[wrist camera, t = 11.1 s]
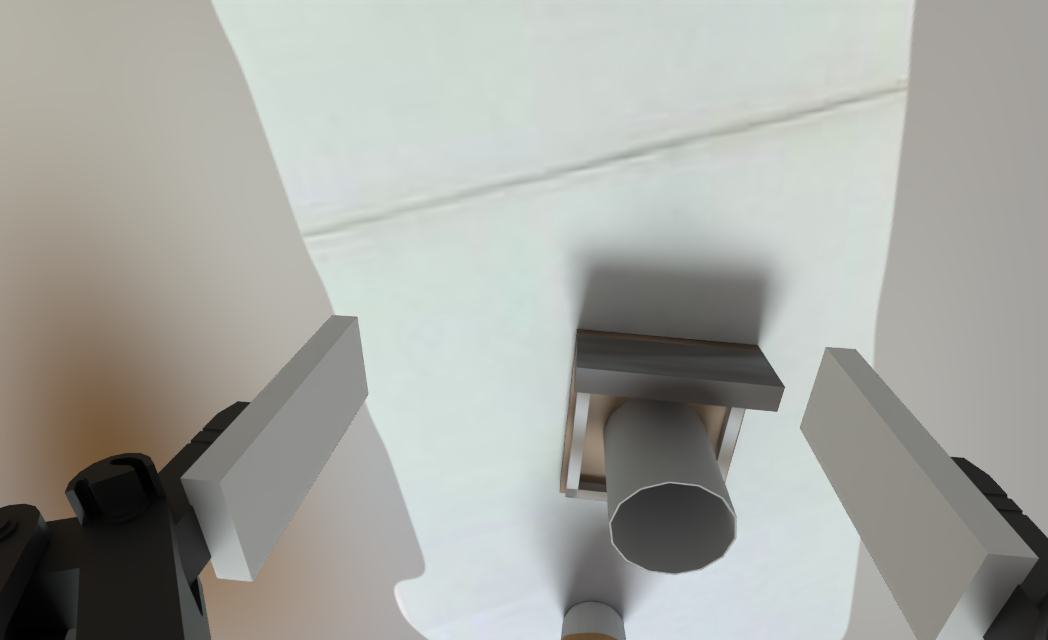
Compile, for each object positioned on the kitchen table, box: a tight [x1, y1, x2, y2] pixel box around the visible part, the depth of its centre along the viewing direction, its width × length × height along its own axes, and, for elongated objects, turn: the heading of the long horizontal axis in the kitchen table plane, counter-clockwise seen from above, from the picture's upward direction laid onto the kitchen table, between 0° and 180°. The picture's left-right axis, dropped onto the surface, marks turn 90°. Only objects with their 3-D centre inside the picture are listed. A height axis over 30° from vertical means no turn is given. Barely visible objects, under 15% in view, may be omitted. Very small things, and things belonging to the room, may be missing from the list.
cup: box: [603, 398, 737, 575], centre depth 40 cm, size 8×8×10 cm
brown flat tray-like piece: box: [560, 329, 785, 501], centre depth 43 cm, size 16×14×6 cm
